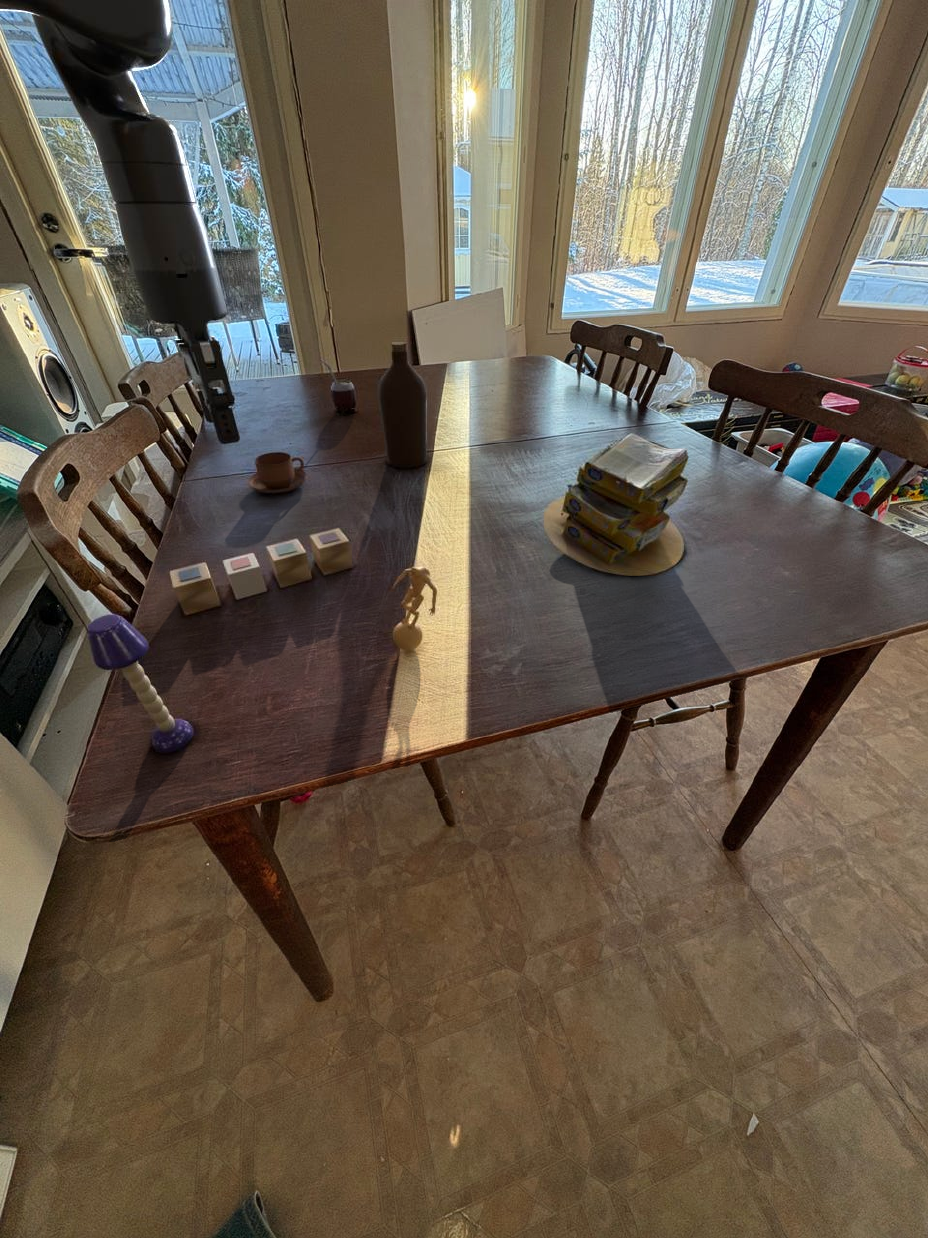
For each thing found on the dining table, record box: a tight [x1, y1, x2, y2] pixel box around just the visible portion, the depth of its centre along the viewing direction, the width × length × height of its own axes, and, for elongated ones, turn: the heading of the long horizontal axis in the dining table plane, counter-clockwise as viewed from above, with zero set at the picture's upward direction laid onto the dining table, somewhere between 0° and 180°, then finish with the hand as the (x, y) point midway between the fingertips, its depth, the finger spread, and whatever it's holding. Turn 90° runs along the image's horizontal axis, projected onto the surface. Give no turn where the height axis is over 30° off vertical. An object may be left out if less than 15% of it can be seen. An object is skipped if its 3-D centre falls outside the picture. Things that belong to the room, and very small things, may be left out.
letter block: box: [222, 552, 268, 600], centre depth 79 cm, size 5×5×5 cm
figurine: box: [392, 565, 438, 651], centre depth 66 cm, size 8×6×12 cm
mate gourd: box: [318, 358, 357, 416], centre depth 146 cm, size 8×8×15 cm
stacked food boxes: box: [542, 432, 689, 577], centre depth 87 cm, size 25×25×17 cm
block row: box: [169, 527, 354, 616], centre depth 80 cm, size 26×5×5 cm, turn 120°
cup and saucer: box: [247, 451, 308, 494], centre depth 108 cm, size 12×12×6 cm
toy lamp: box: [86, 613, 195, 754], centre depth 52 cm, size 5×5×17 cm
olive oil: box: [377, 341, 428, 469], centre depth 113 cm, size 11×11×25 cm
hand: (222, 431), depth 60 cm, fingers open, 8 cm apart
